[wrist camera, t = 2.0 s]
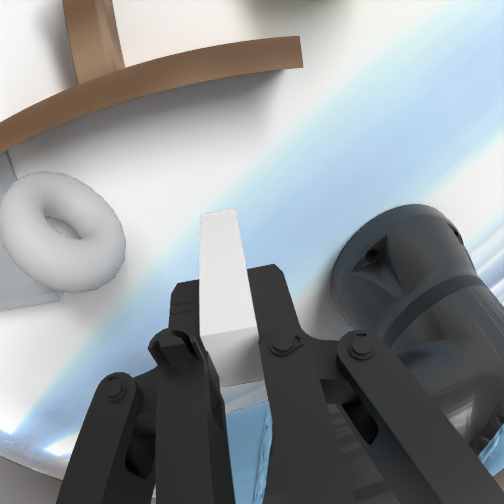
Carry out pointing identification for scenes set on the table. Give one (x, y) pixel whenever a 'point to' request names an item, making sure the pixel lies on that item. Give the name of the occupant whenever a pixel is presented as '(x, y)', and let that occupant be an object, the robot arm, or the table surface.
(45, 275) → the donut
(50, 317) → the table surface
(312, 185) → the table surface
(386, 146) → the table surface
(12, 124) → the t rack
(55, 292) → the tray
